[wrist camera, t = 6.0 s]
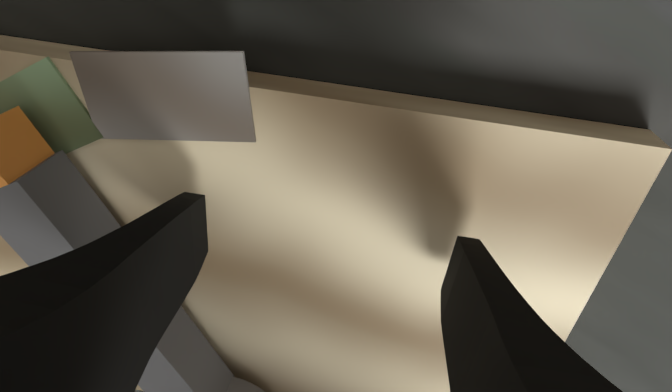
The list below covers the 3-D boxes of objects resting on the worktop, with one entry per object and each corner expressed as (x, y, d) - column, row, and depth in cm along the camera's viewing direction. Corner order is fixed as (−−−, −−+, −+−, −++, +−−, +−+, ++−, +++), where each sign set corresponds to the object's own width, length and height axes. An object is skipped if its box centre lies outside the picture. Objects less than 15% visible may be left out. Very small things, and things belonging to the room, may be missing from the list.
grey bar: (292, 424, 18) (276, 495, 16) (217, 433, 20) (193, 502, 17) (50, 90, 12) (-34, 132, 10) (-41, 133, 13) (-135, 179, 11)
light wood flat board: (495, 429, 20) (501, 462, 18) (-17, 335, 21) (-43, 360, 20) (666, 97, 12) (695, 118, 10) (-180, -23, 13) (-240, -17, 12)
